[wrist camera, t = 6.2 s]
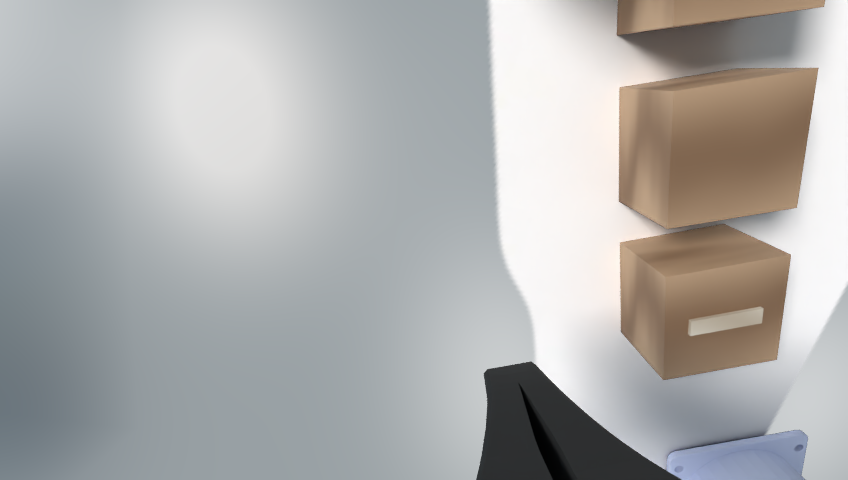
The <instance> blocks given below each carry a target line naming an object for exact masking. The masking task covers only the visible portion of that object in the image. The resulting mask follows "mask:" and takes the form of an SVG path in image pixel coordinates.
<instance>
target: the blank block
mask: <svg viewBox="0 0 848 480" xmlns="http://www.w3.org/2000/svg"><path fill="white" fill-rule="evenodd" d="M817 74H818V68H737V69H731V70H724V71H718V72H712V73H706V74H700V75H693V76H687V77H681V78H675V79H669V80H663V81H656V82H650V83H644V84H638V85H632V86H625V87H620V91H619V202H621V203H623V204H624V205H626V206H628V207H630V208H631V209H633V210H635V211H637V212H638V213H640V214H642V215H644V216H645V217H647V218H649V219H650V220H652V221H654V222H656V223H657V224H659V225H661V226H663V227H664V228H666V229H670V228H677V227H683V226H689V225H695V224H701V223H707V222H713V221H719V220H725V219H731V218H737V217H743V216H749V215H755V214H762V213H768V212H774V211H780V210H786V209H792V208H797V203H798V197H799V190H800V184H801V177H802V171H803V164H804V158H805V151H806V145H807V138H808V132H809V125H810V119H811V113H812V106H813V100H814V93H815V87H816V80H817Z"/></svg>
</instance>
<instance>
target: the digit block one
mask: <svg viewBox="0 0 848 480" xmlns="http://www.w3.org/2000/svg"><path fill="white" fill-rule="evenodd" d="M790 259H791V255H790V254H788V253H786V252H784V251H782V250H780V249H777V248H775V247H773V246H771V245H769V244H767V243H764V242H762V241H760V240H758V239H756V238H753V237H751V236H749V235H747V234H745V233H743V232H740V231H738V230H736V229H734V228H732V227H730V226H727V225H725V224H720V225H715V226H709V227H704V228H698V229H693V230H687V231H681V232H676V233H670V234H665V235H659V236H654V237H648V238H643V239H637V240H631V241H626V242H620V282H621V332H622V334H623V335H624V336H625V337H626V338H627V339H628V340H629V342H630V343H631V344H632V345H633V346H634V347H635V348H636V350H637V351H638V352H639V353H640V354H641V355H642V356H643V358H644V359H645V360H646V361H647V362H648V363H649V364H650V366H651V367H652V368H653V369H654V370H655V371H656V372H657V374H658V375H659V376H660V377H661V378H662V379H663V380H667V379H672V378H678V377H684V376H689V375H695V374H700V373H706V372H711V371H717V370H722V369H728V368H733V367H739V366H745V365H750V364H756V363H761V362H767V361H772V360H777V355H778V348H779V340H780V333H781V325H782V318H783V310H784V303H785V296H786V288H787V281H788V273H789V266H790Z"/></svg>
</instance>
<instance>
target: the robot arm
mask: <svg viewBox="0 0 848 480" xmlns="http://www.w3.org/2000/svg"><path fill="white" fill-rule="evenodd" d="M484 379H485V385H486V393H487V403H488V404H487V419H486V431H485V437H484V444H483V451H482V457H481V461H480V466H479V471H478V475H477V479H476V480H805V479H804V478H803V477H802V476H801V474H802V468H803V463H804V458H805V452H806V447H807V441H808V437H807V435H806V434H805V433H804V432H802V431H801V430H793V431H788V432H782V433H776V434H770V435H765V436H759V437H753V438H748V439H742V440H736V441H731V442H725V443H719V444H714V445H708V446H702V447H697V448H691V449H685V450H680V451H675V452H672V453H671V454H670V455H669V456H668V458H667V471H666V470H664V469H663V468H661V467H659V466H658V465H656V464H654V463H653V462H651V461H650V460H648V459H647V458H645V457H643V456H642V455H641V454H639V453H638V452H636V451H635V450H633V449H632V448H630V447H629V446H627V445H626V444H625V443H623V442H622V441H620V440H619V439H618V438H616V437H615V436H614V435H612V434H611V433H610V432H609V431H607V430H606V429H605V428H603V427H602V426H601V425H600V424H598V423H597V422H596V421H595V420H593V419H592V418H591V417H590V416H589V415H587V414H586V413H585V412H584V411H583V410H582V409H581V408H579V407H578V406H577V405H576V404H575V403H574V402H573V401H572V400H570V399H569V398H568V397H567V396H566V395H565V394H564V393H563V392H562V391H561V390H560V389H559V388H558V387H557V386H556V385H555V384H554V383H553V382H552V381H551V380H550V379H549V378H548V377H547V376H546V375H545V374H544V373H543V372H542V371H541V370H540V369H539V368H538V367H537V366H536V365H535V364H534V363H532V362H526V363H521V364H515V365H510V366H504V367H498V368H492V369H487V371H486V372H485V373H484Z"/></svg>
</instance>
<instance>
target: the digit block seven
mask: <svg viewBox="0 0 848 480" xmlns="http://www.w3.org/2000/svg"><path fill="white" fill-rule="evenodd" d="M824 4H825V0H618V13H617V35H624V34H631V33H639V32H646V31H654V30H662V29H669V28H677V27H684V26H692V25H700V24H707V23H715V22H722V21H730V20H738V19H744V18H751V17H758V16H765V15H771V14H778V13H785V12H791V11H798V10H805V9H811V8H818V7H824Z"/></svg>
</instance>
